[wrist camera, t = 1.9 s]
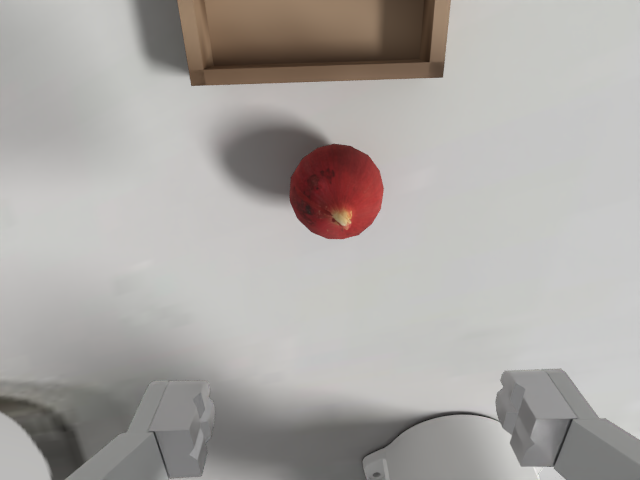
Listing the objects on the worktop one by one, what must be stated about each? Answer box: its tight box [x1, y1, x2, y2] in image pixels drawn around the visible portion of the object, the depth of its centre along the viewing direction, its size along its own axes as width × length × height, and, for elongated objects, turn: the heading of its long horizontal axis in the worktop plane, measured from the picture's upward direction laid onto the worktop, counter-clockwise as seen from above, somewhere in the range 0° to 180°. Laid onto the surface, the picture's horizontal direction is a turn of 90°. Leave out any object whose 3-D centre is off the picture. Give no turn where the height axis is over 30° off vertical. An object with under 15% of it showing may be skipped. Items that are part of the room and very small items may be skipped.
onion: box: [289, 144, 384, 239], centre depth 25 cm, size 6×6×8 cm
